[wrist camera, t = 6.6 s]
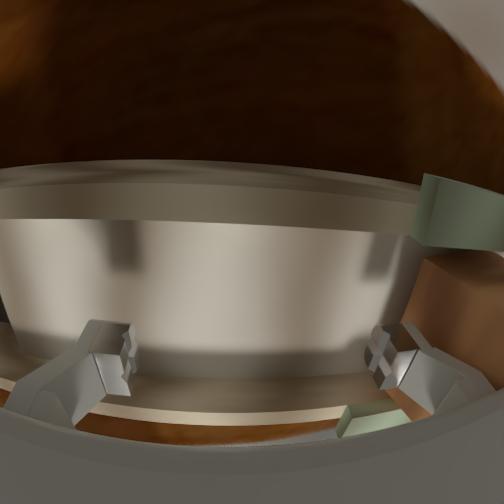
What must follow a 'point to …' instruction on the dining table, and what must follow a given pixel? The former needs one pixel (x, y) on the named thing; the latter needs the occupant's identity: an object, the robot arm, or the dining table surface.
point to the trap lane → (226, 280)
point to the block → (459, 315)
